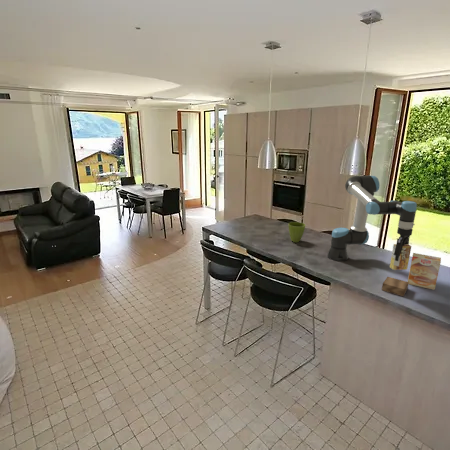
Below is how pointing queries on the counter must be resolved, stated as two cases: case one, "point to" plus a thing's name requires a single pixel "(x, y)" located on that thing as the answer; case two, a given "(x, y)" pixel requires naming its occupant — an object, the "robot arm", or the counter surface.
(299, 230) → the flower pot
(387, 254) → the counter surface
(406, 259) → the candy box
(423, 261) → the coffeecake box
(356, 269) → the counter surface
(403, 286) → the walnut block
